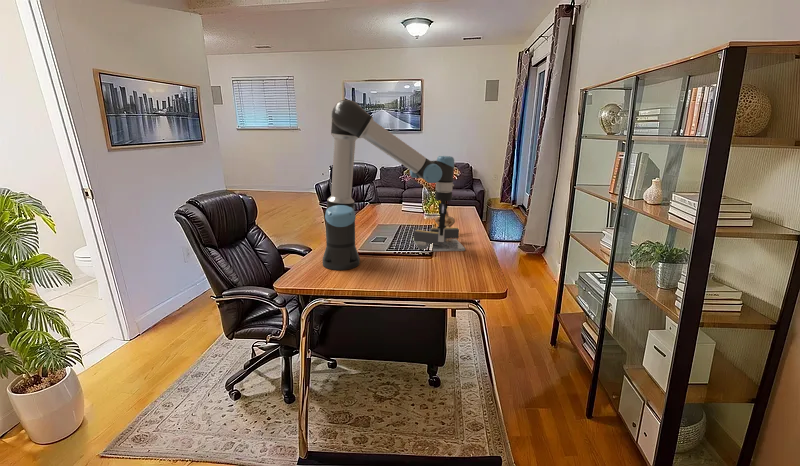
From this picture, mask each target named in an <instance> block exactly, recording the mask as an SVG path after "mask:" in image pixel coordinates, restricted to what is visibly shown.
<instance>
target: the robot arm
mask: <svg viewBox="0 0 800 466" xmlns="http://www.w3.org/2000/svg"><path fill="white" fill-rule="evenodd" d="M330 129H331V130H330V134H331V136H332V137H333V139H334V143H333V159H332V160H333V161H332V176H331V177H332V178H331V192H330V194H331V195H330V196H329V197H328V198H327V201H326V210H325V215H324V220H325V236H326V238H325V240H326V242H325V243H326V245H325V249H324V250H325V251H324V254H323V255H322V256H323V257H322V266H323V267H324V268H325V269H329V270H334V271H344V270H345V271H346V270H350V269H352V270H353V269H354V268H357V267H358V266H359V265H360V264H361V263H360V260H361V259H360V255H359V252H358V250H357V247H356V212H355V200H354V199H353V198H352V191H353V190H352V189H353V181H354V180H353V178H354V177H353V176H354V163H355V153H356V152H355V149H356V141H357V140H358V139H364V140H365V141H367V142H368V143H370V144H372V145H373V146H375V148H377V149H379V150H380V151H382V152H383V153H384V154H386V155H387V156H389V157H390V158H392V159H393V160H394V161H396V162H398V163H399V164H401V165H402V166H404V168H406V169H408V170H409V175H410V177H411V178H412V179H413V178H414V179H422V180H424V181H425V182H427V183H429V184H435V195H434V198H435V200H436V201H439V203H438V214H439V216H440V221H439V227H437V226H436V227H437V228H439V233H438V242H444V232H445V227H446V226H445V214H446V212H448V210H447V209H448V203H446V202H450V201H452V200H453V192H452V191H453V187H454V186H455V184H454V171H455V158H454V157H453V156H448V155H438V156H437V159H436V160H430V159H428V158H426V156H424V155H422V154H421V153H419V151H417V150H416V149H414V148H413V147H411V146H410V145H408V144H407V143H406V142H404V141H403V140H402V139H401V138H398V137H397V136H396V135H394V134H393V133H392V132H390V131H389V130H387V129H386V128H384V127H383V126H382V125H380V124H379V123H377V122H376V121H375V120H374V116H372V114H369V113H368V112H367V111H366V110H364V108H362V107H361V106H360V105H359V104H358V103H357V102H356V101H354V100H351V99H343V100H340V101H338V102H337V103H336V104H335V105H334V106H333V108H332V111H331V128H330Z"/></svg>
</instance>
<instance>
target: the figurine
mask: <svg viewBox="0 0 800 466" xmlns="http://www.w3.org/2000/svg"><path fill="white" fill-rule="evenodd" d="M439 221H440V215H439V216H436V217H435V219H434V222H435V223H436V224H437V225H436V226H435V228H437V227H439ZM455 222H456V220H455V218H454V217H452V216H449V212H448V211H447V212H446V214H445V226H446V227H445V228H452V226H453V225H454V224H455Z"/></svg>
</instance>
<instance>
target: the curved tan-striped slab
mask: <svg viewBox="0 0 800 466" xmlns="http://www.w3.org/2000/svg"><path fill="white" fill-rule="evenodd" d="M429 231H431V232H439V228H436V227H430V228H429ZM459 235H460V229H459V228H458V227H450V228H445V232H444V240H447V239H459Z"/></svg>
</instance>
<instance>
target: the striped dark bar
mask: <svg viewBox="0 0 800 466" xmlns="http://www.w3.org/2000/svg"><path fill="white" fill-rule="evenodd" d="M438 233H439V232H431V231H430V230H429V231H428V230H421V229H416V230H414V232H413V238H414V241H420V242H426V244H432V243H436V244H443V243H444V242H438Z"/></svg>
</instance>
